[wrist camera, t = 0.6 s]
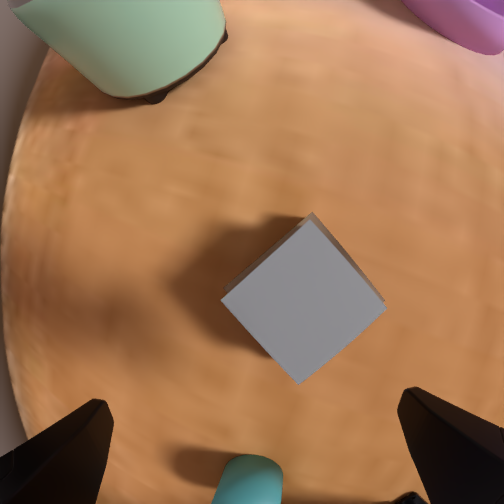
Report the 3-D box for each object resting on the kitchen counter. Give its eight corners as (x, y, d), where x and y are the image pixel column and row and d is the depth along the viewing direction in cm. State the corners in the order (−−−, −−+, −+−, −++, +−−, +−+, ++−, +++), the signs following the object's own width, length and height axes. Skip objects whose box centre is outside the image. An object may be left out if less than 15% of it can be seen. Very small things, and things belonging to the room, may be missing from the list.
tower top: (372, 301, 17) (387, 308, 14) (297, 366, 17) (298, 384, 14) (307, 226, 18) (309, 219, 15) (232, 294, 18) (220, 300, 15)
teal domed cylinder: (295, 478, 19) (293, 517, 14) (250, 499, 20) (241, 536, 15) (257, 445, 20) (248, 483, 15) (212, 468, 20) (196, 504, 15)
